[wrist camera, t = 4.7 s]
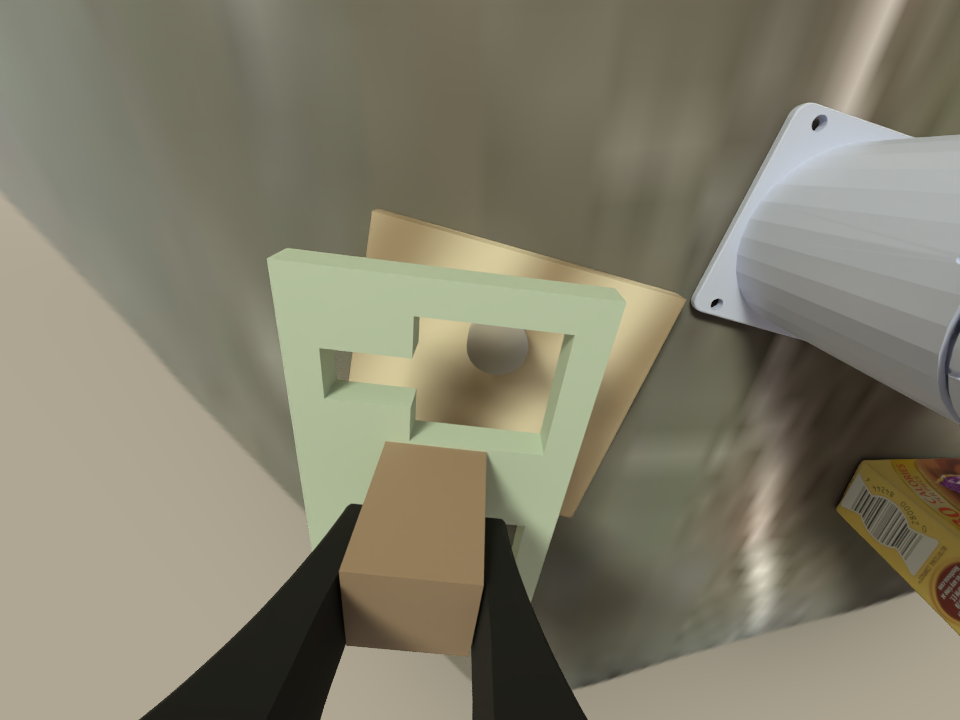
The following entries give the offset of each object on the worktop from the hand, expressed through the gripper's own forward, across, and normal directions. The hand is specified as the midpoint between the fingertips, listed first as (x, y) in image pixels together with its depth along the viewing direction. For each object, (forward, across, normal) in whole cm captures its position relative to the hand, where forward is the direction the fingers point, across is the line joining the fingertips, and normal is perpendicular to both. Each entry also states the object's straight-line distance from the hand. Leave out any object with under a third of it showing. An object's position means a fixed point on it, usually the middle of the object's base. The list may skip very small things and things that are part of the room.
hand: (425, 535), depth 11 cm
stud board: (+9, -2, 0) cm, 10 cm away
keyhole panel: (+3, 0, -1) cm, 3 cm away
